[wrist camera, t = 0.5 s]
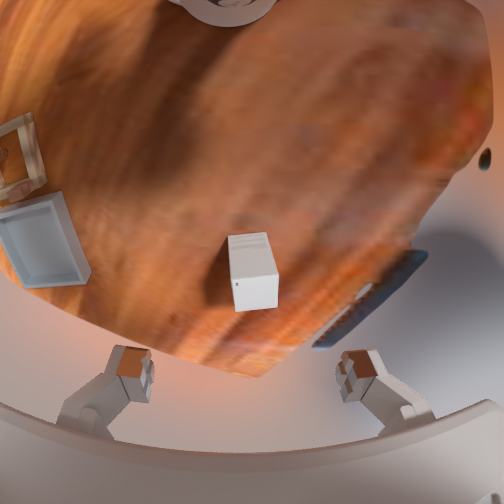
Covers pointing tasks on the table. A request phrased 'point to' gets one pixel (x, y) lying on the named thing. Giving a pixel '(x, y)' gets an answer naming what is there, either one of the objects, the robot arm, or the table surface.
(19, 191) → the ring
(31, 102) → the table surface
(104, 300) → the table surface
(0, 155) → the rod
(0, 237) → the tray
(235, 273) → the supplement box
